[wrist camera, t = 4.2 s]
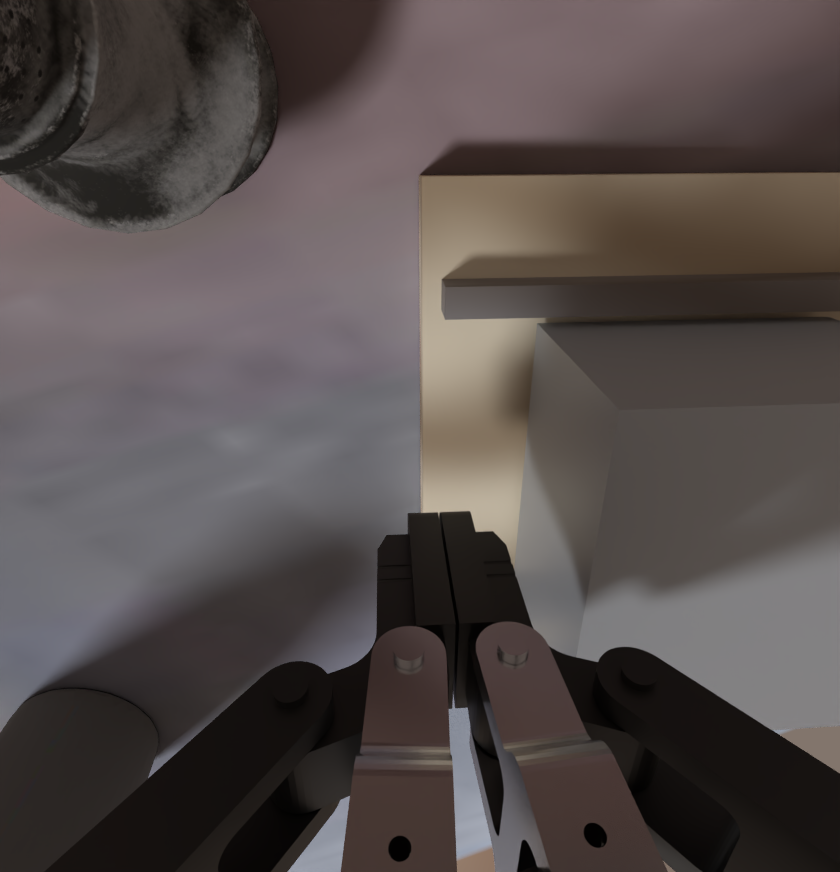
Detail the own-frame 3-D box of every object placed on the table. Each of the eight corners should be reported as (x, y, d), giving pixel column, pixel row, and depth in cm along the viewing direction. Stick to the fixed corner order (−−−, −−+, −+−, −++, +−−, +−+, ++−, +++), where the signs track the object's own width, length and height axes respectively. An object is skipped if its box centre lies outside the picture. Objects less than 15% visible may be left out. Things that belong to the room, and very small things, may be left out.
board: (418, 175, 14) (424, 177, 12) (1140, 169, 15) (1253, 171, 13) (421, 629, 21) (425, 677, 19) (909, 604, 22) (959, 647, 20)
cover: (537, 323, 14) (620, 410, 9) (828, 316, 15) (1054, 396, 10) (512, 585, 18) (561, 743, 13) (741, 574, 19) (871, 723, 14)
